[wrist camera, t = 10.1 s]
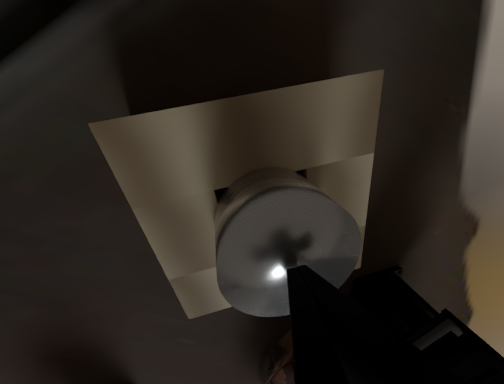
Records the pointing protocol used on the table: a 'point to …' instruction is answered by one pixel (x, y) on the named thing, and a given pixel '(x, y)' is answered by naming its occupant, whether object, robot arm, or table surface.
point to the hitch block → (238, 165)
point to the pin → (279, 239)
